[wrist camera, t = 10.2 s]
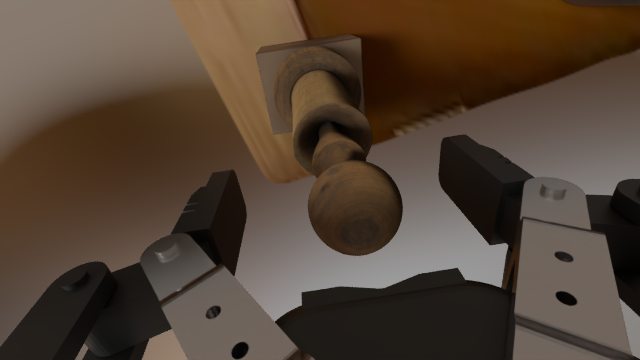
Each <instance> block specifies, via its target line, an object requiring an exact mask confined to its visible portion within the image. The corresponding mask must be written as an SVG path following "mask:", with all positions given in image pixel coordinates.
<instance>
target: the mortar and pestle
mask: <svg viewBox="0 0 640 360" xmlns="http://www.w3.org/2000/svg"><path fill="white" fill-rule="evenodd" d="M274 102H275V106H276V109H277V111H278V113H279V115H280V117H281V118H282V120H283V121H284V122H285V123H286V124H287V125H288V126H289V127H290V128H292V129H293V151H294V155H295V158H296V160H297V161H298V163H299V164H300V165H301V166H302V167H303V168H304V169H305V170H306V171H307V172H309V173H310V174H312V175H315V176H316V178H317V180H316V182H315V183H314V185H313V187H312V189H311V192H310V195H309V200H308V212H309V218H310V221H311V224H312V226H313V229H314V230H315V232H316V234H317V235H318V237H319V238H320V239H321V240H322V241H323V242H324V243H325V244H326V245H327V246H329V247H330V248H332V249H334V250H335V251H338V252H340V253H342V254H346V255H355V256H361V255H367V254H370V253H373V252H375V251H378V250H379V249H381V248H382V247H384V246H385V245H386V244H388V243H389V242H390V240H391V239H392V238H393V237H394V235H395V234H396V232H397V230H398V228H399V226H400V223H401V219H402V212H403V206H402V198H401V195H400V192H399V190H398V187H397V185H396V184H395V182H394V181H393V180H392V178H391V177H390V175H388V174H387V173H386V172H385V171H384V170H383V169H381V168H380V167H378V166H376V165H374V164H372V163H369V162H366V157H367V155H368V153H369V151H370V148H371V144H372V131H371V127H370V124H369V122H368V120H367V119H366V117H365V116H364V114H363V113H362V112H361V110H360V109H359V106H360V102H361V85H360V80H359V77H358V75H357V73H356V71H355V69H354V68H353V66H352V65H351V64H350V63H349V62H348V61H347V60H346V59H345V58H344V57H343V56H342V55H341V54H339V53H338V52H336V51H334V50H332V49H329V48H326V47H320V46H312V47H306V48H303V49H300V50H298V51H296V52H294V53H293V54H291V55H290V56H289V57H287V58H286V59H285V61H284V62H283V63H282V64H281V66H280V68H279V69H278V71H277V74H276V77H275V81H274Z"/></svg>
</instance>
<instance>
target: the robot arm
mask: <svg viewBox="0 0 640 360" xmlns="http://www.w3.org/2000/svg"><path fill="white" fill-rule="evenodd" d="M564 1H565V2H568V3H570V4H572V5H578V6H618V5H620V6H634V5H640V0H564ZM439 182H440V185H441V187H442V189H443V190H444V192H445V193H446V194H447V195H448V196H449V197H450V199H451V200H452V201H453V202H454V203H455V204H456V206H457V207H458V208H459V209H460V210H461V212H462V213H463V214H464V215H465V216H466V217H467V219H468V220H469V221H470V222H471V223H472V225H473V226H474V227H475V228H476V229H477V230H478V232H479V233H480V234H481V235H482V236H483V238H484V239H485V240H486V241H487V242H488V243H489V245H496V244H502V243H507V244H508V249H507V253H506V259H505V267H504V273H503V280H502V287H501V288H500V287H497V286H494V285H491V284H487V283H482V282H477V281H470V280H465V279H464V277H463V275H462V274H461V272H460V271H459V269H458V268H454V269H448V270H441V271H436V272H429V273H422V274H418V275H416V276H413V277H411V278H408V279H406V280H403V281H401V282H399V283H396V284H394V285H391V286H389V287H386V288H382V289H374V288H357V287H334V288H328V289H321V290H315V291H309V292H302V306H299V307H297V308H295V309H293V310H291V311H289V312H287V313H286V314H284V315H283V316H281V317H280V318H279V319H277V321H275V322H274V321H273V320H272V319H271V317H270V316H269V315H268V314H267V313H266V312H265V311H264V310H263V309H262V307H261V306H260V305H259V304H258V303H257V302H256V301H255V300H254V299H253V297H252V296H251V295H250V294H249V293H248V292H247V291H246V290H245V289H244V287H243V286H242V285H241V284H240V283H239V282H238V281H237V280H236V278H235V277H234V276H235V271H236V266H237V261H238V257H239V252H240V247H241V243H242V238H243V233H244V228H245V224H246V218H247V213H246V205H245V202H244V198H243V195H242V192H241V189H240V185H239V182H238V179H237V176H236V173H235V171H234V170H227V171H220V172H213V173H212V175H211V177H210V179H209V181H208V183H207V185H206V186H205V187H200V188H199V189H198V190H197V191H196V192H195V193H194V194H193V195H191V198H190V199H189V201H188V203H187V206H185V208H184V210H183V213H182V214H181V216H180V218H179V220H178V222H177V223H176V225H175V227H174V229H173V231H172V233H171V235H168V236H165V237H163V238H160V239H159V240H157V241H155V242H154V243H152V244H151V245H150V246H148V247H147V248H146V249H145V251H144V252H143V253H142V255H141V257H140V262H139V263H136V264H134V265H131V266H128V267H126V268H123V269H120V270H117V271H115V272H112V273H111V271H110V270H109V268H108V267H107V265H106V264H105V263H103V262H90V263H85V264H82V265H80V266H77V267H75V268H73V269H71V270H69V271H68V272H66V273H64V274H63V275H61V276H60V277H59V278H58V279H56V280H55V281H54V282H53V283H52V284H51V285H50V286H49V287H48V288H47V290H46V291H45V292H44V293H43V295H42V296H41V297H40V298H39V300H38V301H37V302H36V303H35V305H34V306H33V307H32V308H31V310H30V311H29V312H28V313H27V315H26V316H25V317H24V318H23V320H22V321H21V322H20V323H19V325H18V326H17V327H16V328H15V329H14V331H13V332H12V333H11V334H10V336H9V337H8V338H7V340H6V341H5V342H4V343H3V344H2V346H1V347H0V360H75V358H76V356H77V355H78V353H79V351H80V349H81V348H82V346H83V344H84V343H85V344H86V346H87V347H88V350H87V352H86V354H85V356H84V358H83V360H142V357H143V355H144V352H145V349H146V346H147V344H148V341H149V339H150V338H152V337H154V336H156V335H159V334H161V333H163V332H165V331H168V330H170V329H173V331H174V333H175V335H176V337H177V339H178V341H179V343H180V345H181V347H182V349H183V351H184V353H185V355H186V357H187V358H188V360H640V359H639V358H637V357H635V356H633V355H632V353H631V350H630V345H629V341H628V336H627V332H626V327H625V322H624V318H623V313H622V309H621V304H620V300H619V298H620V299H621V300H622V301H623V302H625V303H626V304H627V305H628V306H629V307H630V308H631V309H632V310H633V311H634V312H635V313H636V314H637V315H638V316H640V179H628V180H623V181H621V182H619V183H618V184H617V186H616V189H615V191H614V193H613V196H610V195H585V193H584V191H583V190H582V189H581V188H580V187H578V186H577V185H575V184H573V183H571V182H568V181H565V180H561V179H557V178H549V177H537V178H535V177H533V176H532V175H530V174H529V173H527V172H526V171H525V170H523V169H522V168H520V167H519V166H517V165H516V164H514V163H511V161H510V160H509V159H507V158H506V157H503V155H501V154H500V153H498V152H497V151H496V150H494V149H491V148H488V147H485V146H483V145H479V144H478V143H476V142H475V141H474V140H472V139H471V138H470V137H468V136H467V135H458V136H451V137H445V138H443V140H442V142H441V151H440V164H439Z"/></svg>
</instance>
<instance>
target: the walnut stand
mask: <svg viewBox="0 0 640 360" xmlns="http://www.w3.org/2000/svg"><path fill="white" fill-rule="evenodd" d="M312 46H320V47H326V48H329V49H332V50H334V51H336V52H338V53H339V54H341V55H342V56H343V57H344V58H345V59H346V60H347V61H348V62H349V63H350V64H351V65H352V66H353V68H354V69H355V71H356V73H357V75H358V77H359V80H360V85H361V102H360V106H359V109H360V110H361V112H362V113H363V114H364V116H365V109H364V90H363V72H362V53H361V38H359V37H356V36H354V35H351V34H344V35H338V36H331V37H324V38H318V39H311V40H304V41H298V42H291V43H284V44H278V45H271V46H264V47H261V48H260V49H259V50H258V52H257V53H256V58H257V62H258V67H259V72H260V76H261V81H262V85H263V90H264V94H265V99H266V103H267V108H268V112H269V117H270V121H271V126H272V131H273V135H275V134H282V133H288V132H293V129H292V128H290V127H289V126H288V125H287V124H286V123H285V122H284V121H283V120H282V118H281V117H280V115H279V113H278V111H277V109H276V106H275V102H274V81H275V77H276V74H277V71H278V69H279V68H280V66H281V64H282V63H283V62H284V61H285V59H286V58H287V57H289V56H290V55H291V54H293V53H294V52H296V51H298V50H300V49H303V48H306V47H312Z"/></svg>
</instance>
